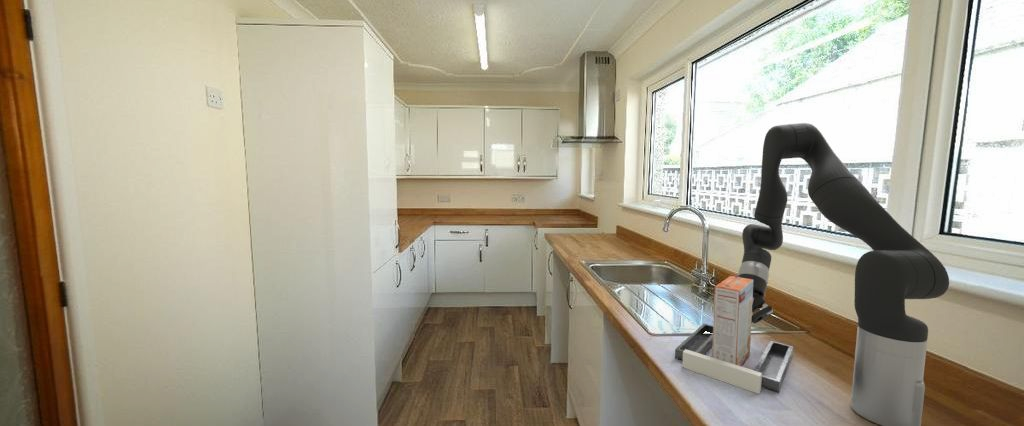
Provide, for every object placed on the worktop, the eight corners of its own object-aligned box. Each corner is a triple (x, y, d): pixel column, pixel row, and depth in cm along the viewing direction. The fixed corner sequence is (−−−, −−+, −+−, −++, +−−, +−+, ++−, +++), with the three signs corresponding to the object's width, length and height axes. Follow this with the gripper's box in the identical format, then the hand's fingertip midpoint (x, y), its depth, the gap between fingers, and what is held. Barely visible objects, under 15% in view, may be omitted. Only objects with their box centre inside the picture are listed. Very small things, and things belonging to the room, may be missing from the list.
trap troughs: (792, 355, 95) (793, 346, 94) (778, 393, 77) (779, 382, 77) (703, 331, 110) (703, 323, 110) (674, 358, 93) (675, 349, 92)
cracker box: (725, 347, 99) (729, 274, 97) (750, 355, 94) (755, 279, 93) (709, 365, 89) (713, 284, 87) (736, 375, 85) (741, 290, 83)
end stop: (760, 390, 78) (762, 373, 78) (759, 394, 77) (760, 376, 77) (685, 364, 90) (685, 349, 89) (682, 367, 88) (682, 351, 88)
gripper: (724, 269, 106) (710, 319, 99) (778, 277, 97) (767, 333, 90) (728, 282, 111) (714, 331, 103) (780, 291, 101) (770, 346, 94)
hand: (739, 332), depth 96 cm, fingers closed
